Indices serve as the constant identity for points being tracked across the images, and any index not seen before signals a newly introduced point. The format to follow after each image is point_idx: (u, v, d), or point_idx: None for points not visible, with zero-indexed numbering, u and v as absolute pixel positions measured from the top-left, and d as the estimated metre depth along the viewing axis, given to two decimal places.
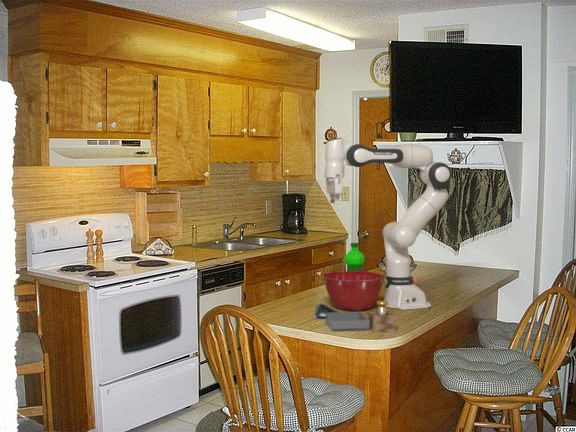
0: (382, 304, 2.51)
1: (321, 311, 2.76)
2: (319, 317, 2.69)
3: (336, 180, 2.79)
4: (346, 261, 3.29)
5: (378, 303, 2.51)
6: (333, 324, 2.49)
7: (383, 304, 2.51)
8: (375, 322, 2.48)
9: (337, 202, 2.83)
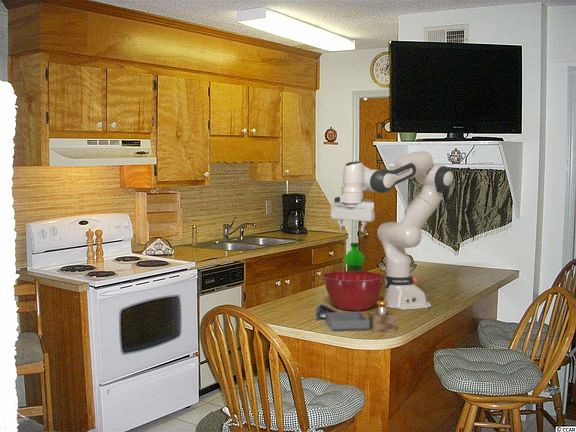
0: (382, 304, 2.51)
1: (321, 312, 2.74)
2: (320, 318, 2.68)
3: (370, 206, 2.66)
4: (346, 261, 3.29)
5: (378, 303, 2.51)
6: (333, 324, 2.49)
7: (383, 304, 2.51)
8: (375, 322, 2.48)
9: (363, 229, 2.70)
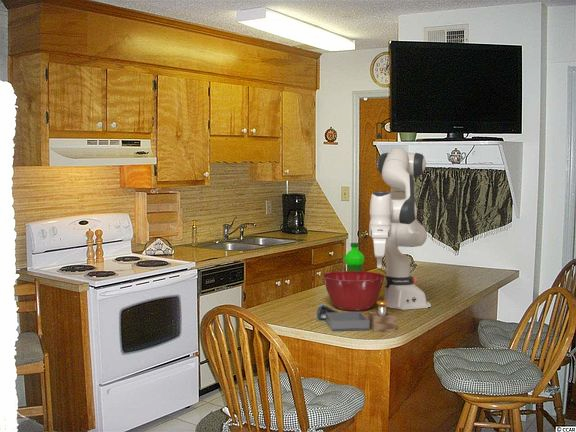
0: (382, 304, 2.51)
1: (322, 313, 2.73)
2: (321, 319, 2.66)
3: None
4: (346, 261, 3.29)
5: (378, 303, 2.51)
6: (333, 324, 2.49)
7: (383, 304, 2.51)
8: (375, 322, 2.48)
9: None
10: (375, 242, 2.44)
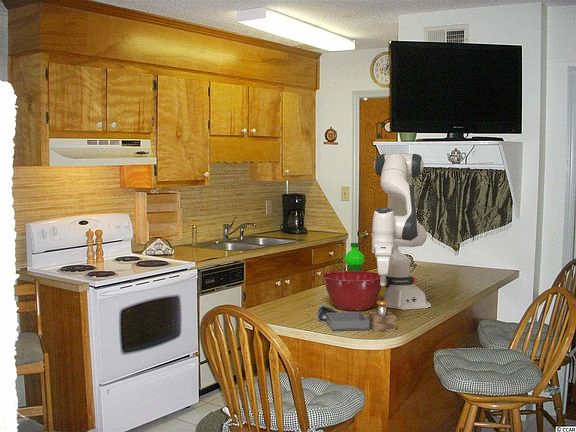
0: (382, 304, 2.51)
1: (323, 313, 2.72)
2: (322, 319, 2.65)
3: None
4: (346, 261, 3.29)
5: (378, 303, 2.52)
6: (333, 324, 2.49)
7: (383, 304, 2.51)
8: (375, 322, 2.48)
9: None
10: (378, 260, 2.42)
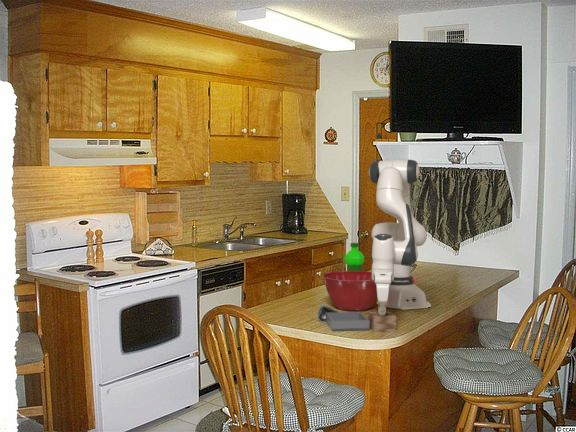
0: None
1: (323, 313, 2.72)
2: (322, 319, 2.65)
3: None
4: (346, 261, 3.29)
5: (378, 303, 2.51)
6: (333, 324, 2.49)
7: None
8: (375, 322, 2.48)
9: None
10: (378, 287, 2.43)
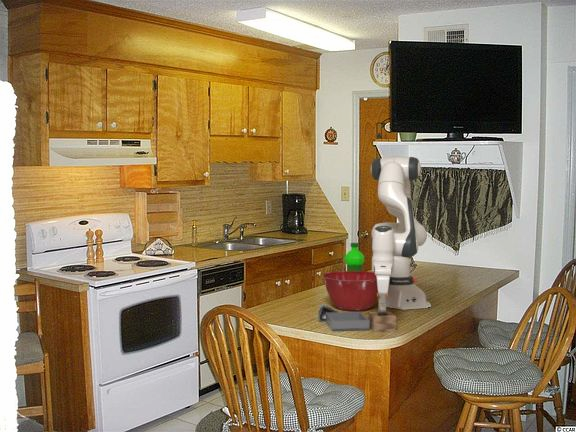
0: None
1: (323, 313, 2.72)
2: (322, 319, 2.65)
3: None
4: (346, 261, 3.29)
5: (378, 295, 2.51)
6: (333, 324, 2.49)
7: None
8: (375, 322, 2.48)
9: None
10: (378, 279, 2.43)
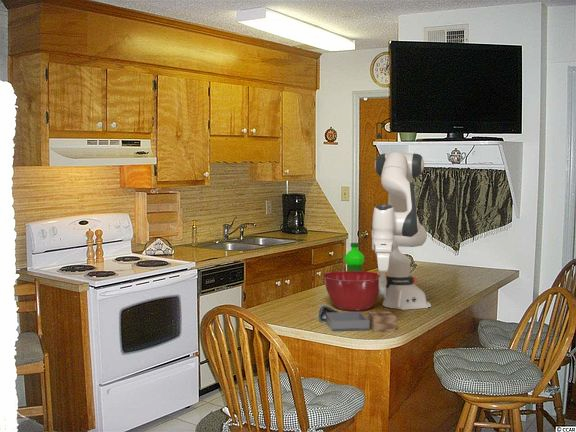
0: None
1: (323, 313, 2.72)
2: (323, 319, 2.65)
3: None
4: (346, 261, 3.29)
5: (378, 274, 2.51)
6: (333, 324, 2.49)
7: None
8: (375, 322, 2.48)
9: None
10: (379, 257, 2.42)
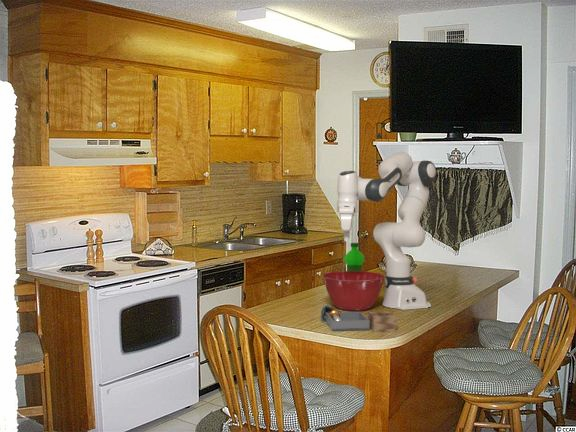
0: None
1: (325, 313, 2.72)
2: (325, 319, 2.65)
3: None
4: (346, 261, 3.29)
5: None
6: (333, 324, 2.49)
7: None
8: (375, 322, 2.48)
9: None
10: (342, 217, 2.66)
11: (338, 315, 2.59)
